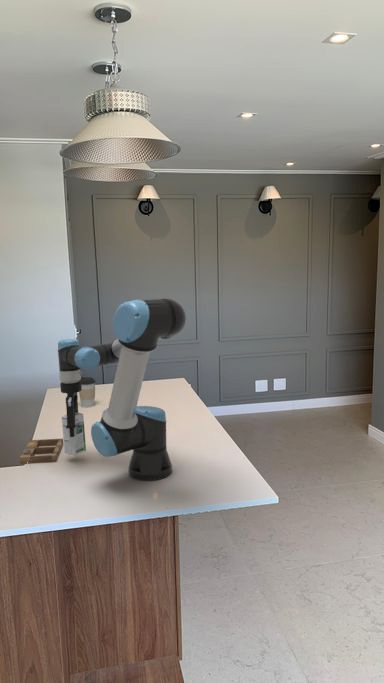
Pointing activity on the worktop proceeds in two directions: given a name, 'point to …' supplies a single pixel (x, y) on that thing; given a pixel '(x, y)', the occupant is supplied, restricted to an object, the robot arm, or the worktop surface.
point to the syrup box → (79, 434)
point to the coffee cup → (87, 392)
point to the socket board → (41, 451)
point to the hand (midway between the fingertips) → (74, 441)
